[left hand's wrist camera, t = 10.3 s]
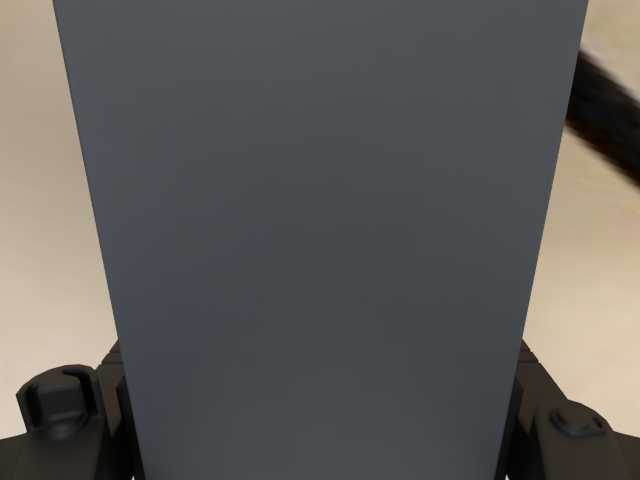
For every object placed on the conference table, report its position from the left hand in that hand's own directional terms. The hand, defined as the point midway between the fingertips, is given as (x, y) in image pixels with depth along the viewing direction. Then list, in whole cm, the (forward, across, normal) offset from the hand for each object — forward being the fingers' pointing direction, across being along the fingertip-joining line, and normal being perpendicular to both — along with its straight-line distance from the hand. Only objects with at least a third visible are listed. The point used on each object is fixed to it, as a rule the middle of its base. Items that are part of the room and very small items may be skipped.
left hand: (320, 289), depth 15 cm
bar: (+1, 0, -35) cm, 35 cm away
